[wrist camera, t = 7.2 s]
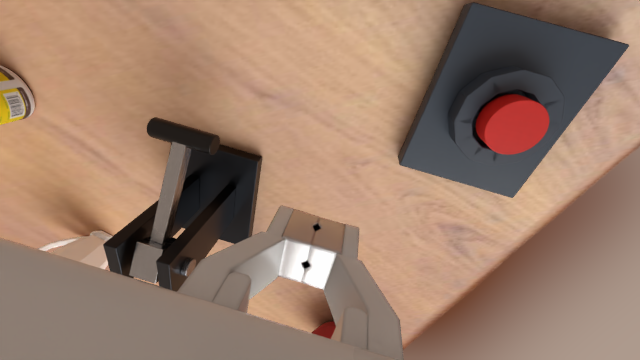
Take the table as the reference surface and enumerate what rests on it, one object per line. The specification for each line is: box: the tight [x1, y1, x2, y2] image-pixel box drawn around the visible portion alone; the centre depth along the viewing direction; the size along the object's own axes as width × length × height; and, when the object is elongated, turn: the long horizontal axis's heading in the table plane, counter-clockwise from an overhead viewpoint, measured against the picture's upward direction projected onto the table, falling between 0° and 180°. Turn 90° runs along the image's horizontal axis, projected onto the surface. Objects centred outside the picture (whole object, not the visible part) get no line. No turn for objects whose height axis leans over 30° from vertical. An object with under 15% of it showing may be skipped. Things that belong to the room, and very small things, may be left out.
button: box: [476, 94, 549, 155], centre depth 18 cm, size 4×4×2 cm
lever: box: [129, 117, 220, 283], centre depth 21 cm, size 12×5×2 cm, turn 166°
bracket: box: [103, 143, 262, 292], centre depth 25 cm, size 12×9×12 cm
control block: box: [398, 2, 629, 198], centre depth 20 cm, size 12×10×4 cm
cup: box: [38, 230, 113, 269], centre depth 35 cm, size 7×10×8 cm
